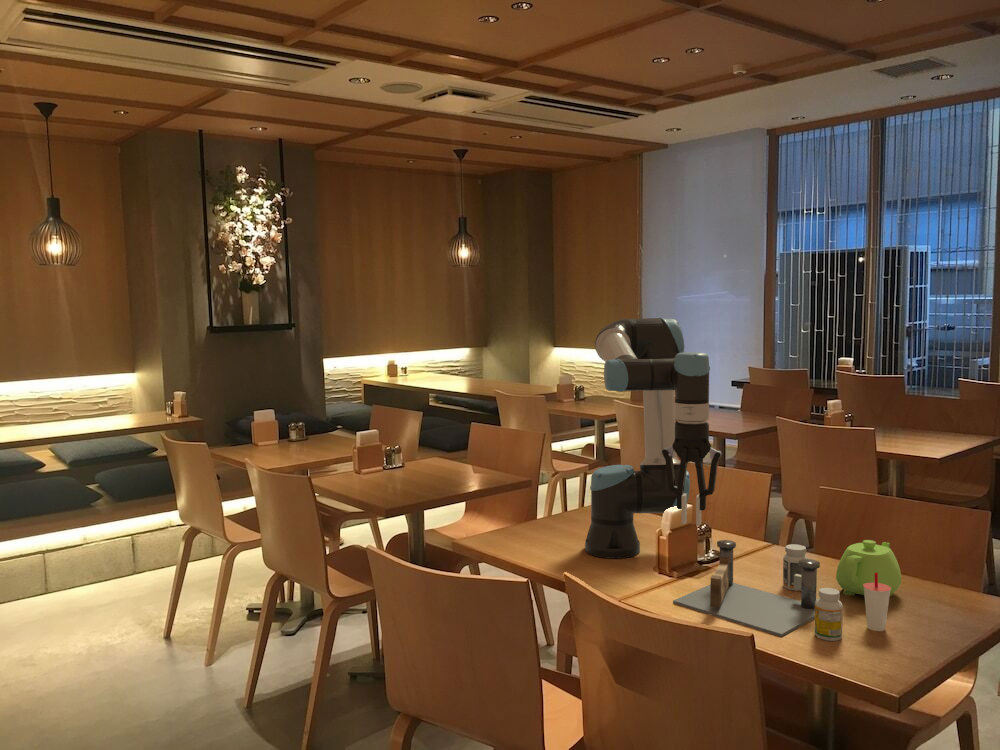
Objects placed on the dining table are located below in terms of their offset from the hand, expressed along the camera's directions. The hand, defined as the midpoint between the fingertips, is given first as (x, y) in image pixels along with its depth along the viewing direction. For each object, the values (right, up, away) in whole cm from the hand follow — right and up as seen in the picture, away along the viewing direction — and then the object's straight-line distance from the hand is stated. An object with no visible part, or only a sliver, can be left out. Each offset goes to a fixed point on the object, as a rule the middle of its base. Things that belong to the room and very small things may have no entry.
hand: (691, 523), depth 191 cm
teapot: (+43, -18, +5) cm, 46 cm away
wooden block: (+7, -17, +2) cm, 18 cm away
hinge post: (+11, -17, +11) cm, 23 cm away
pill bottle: (+27, -17, +10) cm, 34 cm away
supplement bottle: (+24, -20, -19) cm, 36 cm away
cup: (+35, -20, -15) cm, 43 cm away
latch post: (+25, -18, -3) cm, 31 cm away
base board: (+13, -19, -2) cm, 22 cm away
